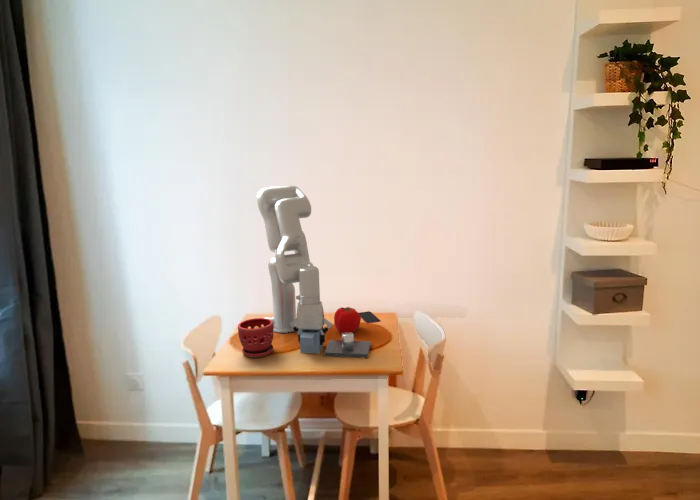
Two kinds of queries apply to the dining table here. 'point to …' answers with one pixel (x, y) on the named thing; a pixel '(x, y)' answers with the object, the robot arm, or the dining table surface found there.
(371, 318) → the smartphone
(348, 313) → the tomato
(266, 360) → the dining table surface
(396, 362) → the dining table surface
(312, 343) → the elbow
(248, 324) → the plant pot
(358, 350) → the duct base
